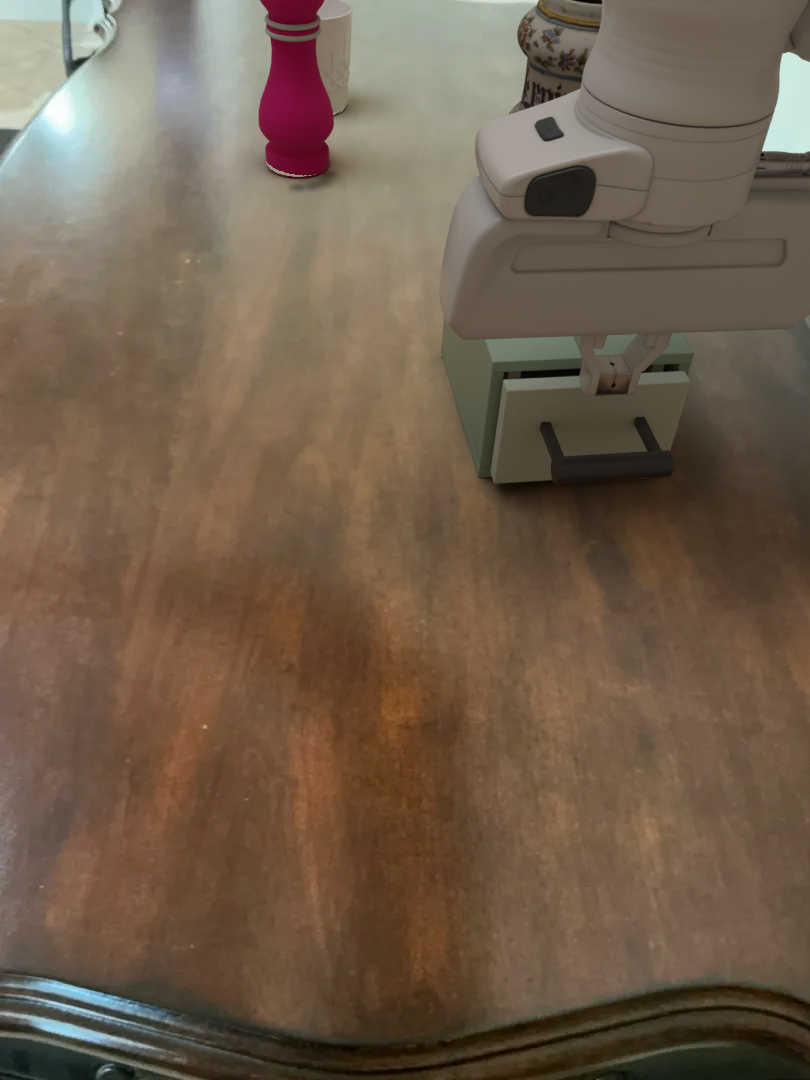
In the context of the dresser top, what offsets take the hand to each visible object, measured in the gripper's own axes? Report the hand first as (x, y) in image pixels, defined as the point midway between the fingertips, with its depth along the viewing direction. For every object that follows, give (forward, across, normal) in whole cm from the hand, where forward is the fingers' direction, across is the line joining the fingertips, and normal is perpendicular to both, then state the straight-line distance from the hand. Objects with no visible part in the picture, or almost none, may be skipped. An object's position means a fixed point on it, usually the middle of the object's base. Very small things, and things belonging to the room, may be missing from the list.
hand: (606, 389), depth 56 cm
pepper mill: (+9, +15, -51) cm, 54 cm away
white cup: (+9, +12, -66) cm, 68 cm away
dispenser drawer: (+8, 0, -6) cm, 10 cm away
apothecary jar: (+9, -10, -44) cm, 46 cm away
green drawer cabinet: (+9, 0, -10) cm, 14 cm away
